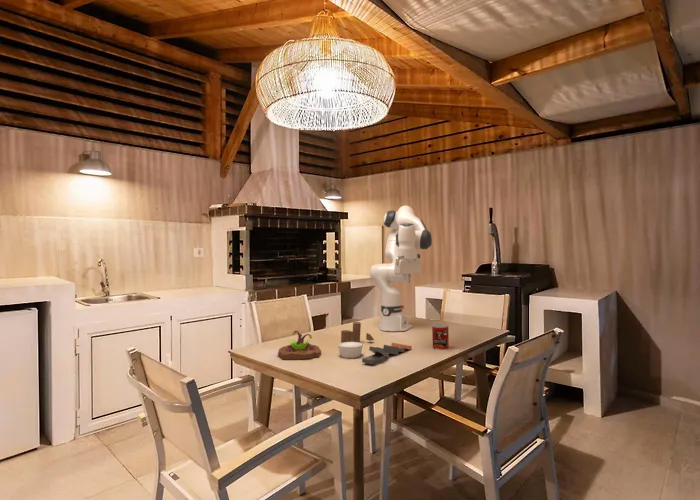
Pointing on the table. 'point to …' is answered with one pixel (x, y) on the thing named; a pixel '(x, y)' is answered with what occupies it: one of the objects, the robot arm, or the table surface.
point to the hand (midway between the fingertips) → (407, 283)
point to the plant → (299, 349)
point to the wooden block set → (353, 334)
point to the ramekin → (350, 349)
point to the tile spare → (401, 346)
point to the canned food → (440, 336)
